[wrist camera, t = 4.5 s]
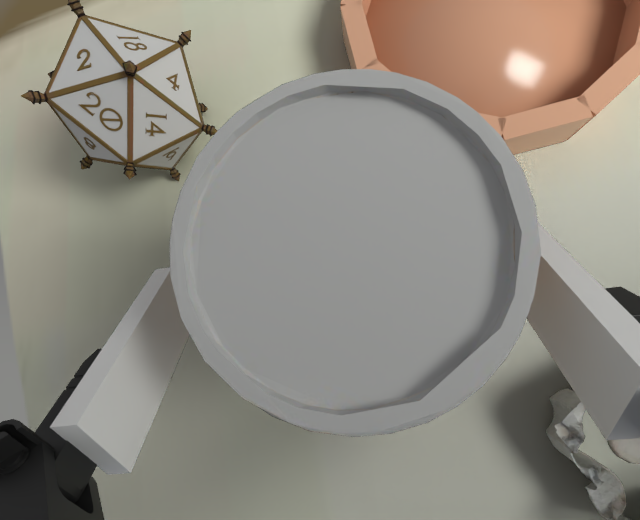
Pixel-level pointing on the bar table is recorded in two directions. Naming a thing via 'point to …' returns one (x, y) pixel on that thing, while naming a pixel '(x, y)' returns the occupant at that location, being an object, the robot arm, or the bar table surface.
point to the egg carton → (567, 440)
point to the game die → (125, 95)
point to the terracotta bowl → (505, 56)
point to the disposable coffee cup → (355, 252)
